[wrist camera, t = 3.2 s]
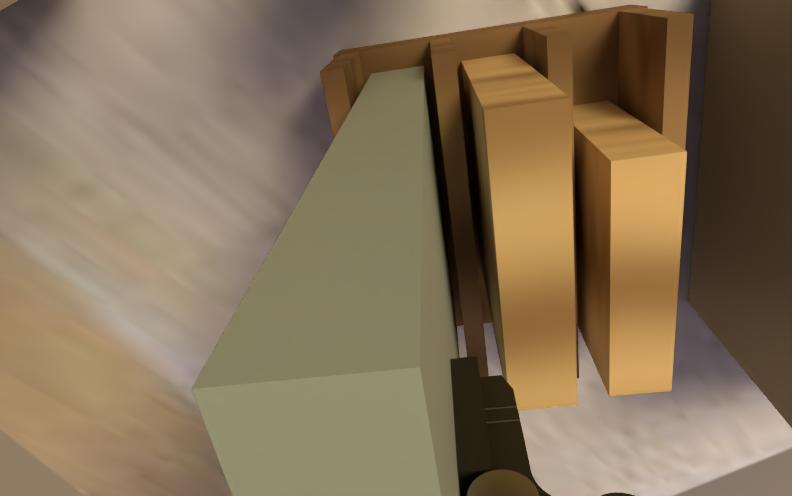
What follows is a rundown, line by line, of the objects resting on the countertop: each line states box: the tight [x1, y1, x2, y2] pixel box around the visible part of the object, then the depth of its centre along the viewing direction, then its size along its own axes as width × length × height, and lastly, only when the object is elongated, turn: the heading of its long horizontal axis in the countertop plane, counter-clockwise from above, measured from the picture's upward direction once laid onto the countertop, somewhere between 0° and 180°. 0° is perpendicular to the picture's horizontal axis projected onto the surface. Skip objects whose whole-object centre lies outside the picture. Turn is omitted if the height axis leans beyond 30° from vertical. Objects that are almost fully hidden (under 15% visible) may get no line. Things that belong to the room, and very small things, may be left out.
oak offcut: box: [461, 53, 577, 410], centre depth 21 cm, size 10×2×10 cm, turn 9°
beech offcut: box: [573, 101, 687, 396], centre depth 22 cm, size 9×2×8 cm, turn 9°
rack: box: [320, 5, 694, 378], centre depth 25 cm, size 14×13×7 cm
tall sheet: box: [192, 66, 461, 496], centre depth 17 cm, size 12×2×20 cm, turn 9°
